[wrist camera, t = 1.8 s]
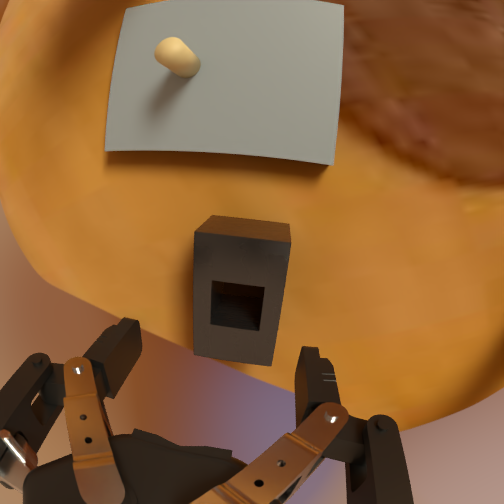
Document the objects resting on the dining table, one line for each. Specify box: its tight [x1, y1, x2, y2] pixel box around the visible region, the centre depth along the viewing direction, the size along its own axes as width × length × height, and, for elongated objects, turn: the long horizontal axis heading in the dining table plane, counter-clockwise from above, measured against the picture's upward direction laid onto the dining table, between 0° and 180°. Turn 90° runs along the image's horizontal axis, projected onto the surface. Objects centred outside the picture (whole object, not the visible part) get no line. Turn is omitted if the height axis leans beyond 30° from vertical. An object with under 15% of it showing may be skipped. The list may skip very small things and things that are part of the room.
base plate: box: [105, 0, 344, 165], centre depth 15 cm, size 16×12×5 cm
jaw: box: [193, 215, 291, 366], centre depth 20 cm, size 9×6×4 cm, turn 175°
